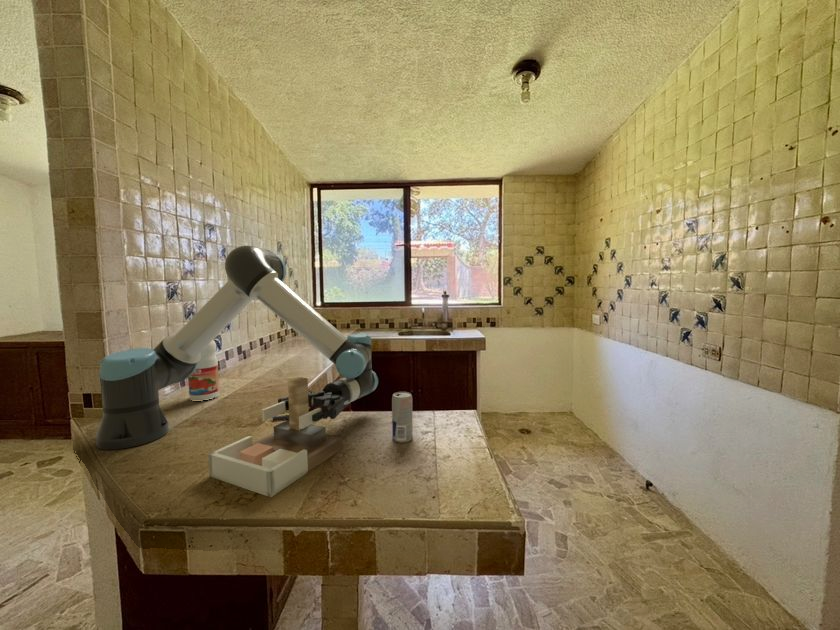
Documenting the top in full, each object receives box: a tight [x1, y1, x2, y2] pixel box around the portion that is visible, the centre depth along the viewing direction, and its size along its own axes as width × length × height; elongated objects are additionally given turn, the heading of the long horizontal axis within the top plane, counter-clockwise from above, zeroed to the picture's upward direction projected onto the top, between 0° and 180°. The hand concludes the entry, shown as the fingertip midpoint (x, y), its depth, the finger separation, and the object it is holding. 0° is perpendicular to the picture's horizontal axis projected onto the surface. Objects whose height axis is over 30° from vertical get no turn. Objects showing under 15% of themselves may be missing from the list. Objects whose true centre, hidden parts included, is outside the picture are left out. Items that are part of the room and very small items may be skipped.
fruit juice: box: [187, 339, 220, 401], centre depth 127 cm, size 9×9×28 cm
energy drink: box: [391, 391, 414, 444], centre depth 92 cm, size 5×5×12 cm
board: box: [252, 432, 343, 473], centre depth 84 cm, size 18×12×3 cm, turn 65°
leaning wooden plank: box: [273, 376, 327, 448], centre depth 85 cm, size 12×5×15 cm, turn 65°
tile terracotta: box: [239, 443, 274, 466], centre depth 78 cm, size 5×5×3 cm
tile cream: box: [262, 449, 296, 469], centre depth 75 cm, size 5×5×3 cm
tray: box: [208, 435, 309, 498], centre depth 74 cm, size 18×10×5 cm, turn 65°
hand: (281, 419), depth 80 cm, fingers open, 11 cm apart
